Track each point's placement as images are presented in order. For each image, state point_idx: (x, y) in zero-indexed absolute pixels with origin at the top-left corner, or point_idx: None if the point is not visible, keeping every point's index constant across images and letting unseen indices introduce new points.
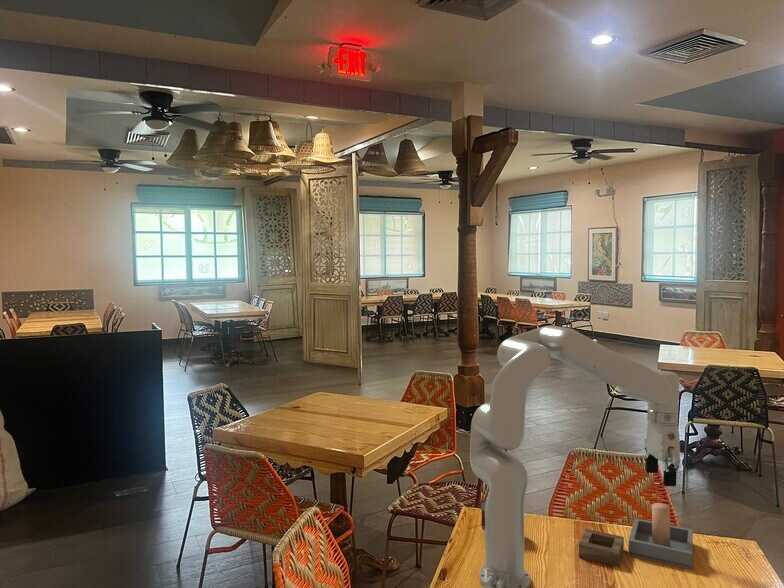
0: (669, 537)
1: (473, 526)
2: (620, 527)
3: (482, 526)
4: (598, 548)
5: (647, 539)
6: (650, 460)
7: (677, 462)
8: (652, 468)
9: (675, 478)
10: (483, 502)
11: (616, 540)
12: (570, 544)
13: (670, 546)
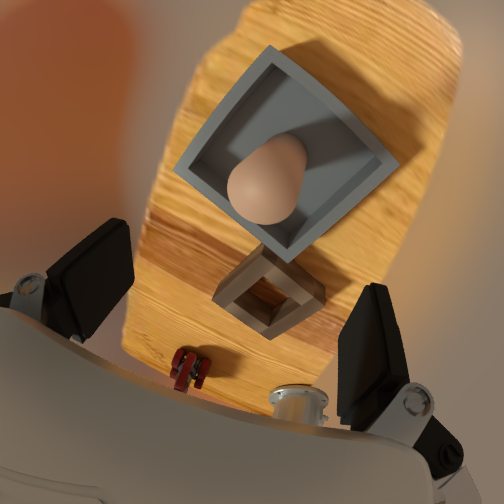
0: (302, 150)
1: (170, 369)
2: (166, 180)
3: (189, 384)
4: (294, 325)
5: None
6: (85, 322)
7: (462, 495)
8: (115, 270)
9: (392, 328)
10: None
11: (273, 279)
12: None
13: (291, 131)
